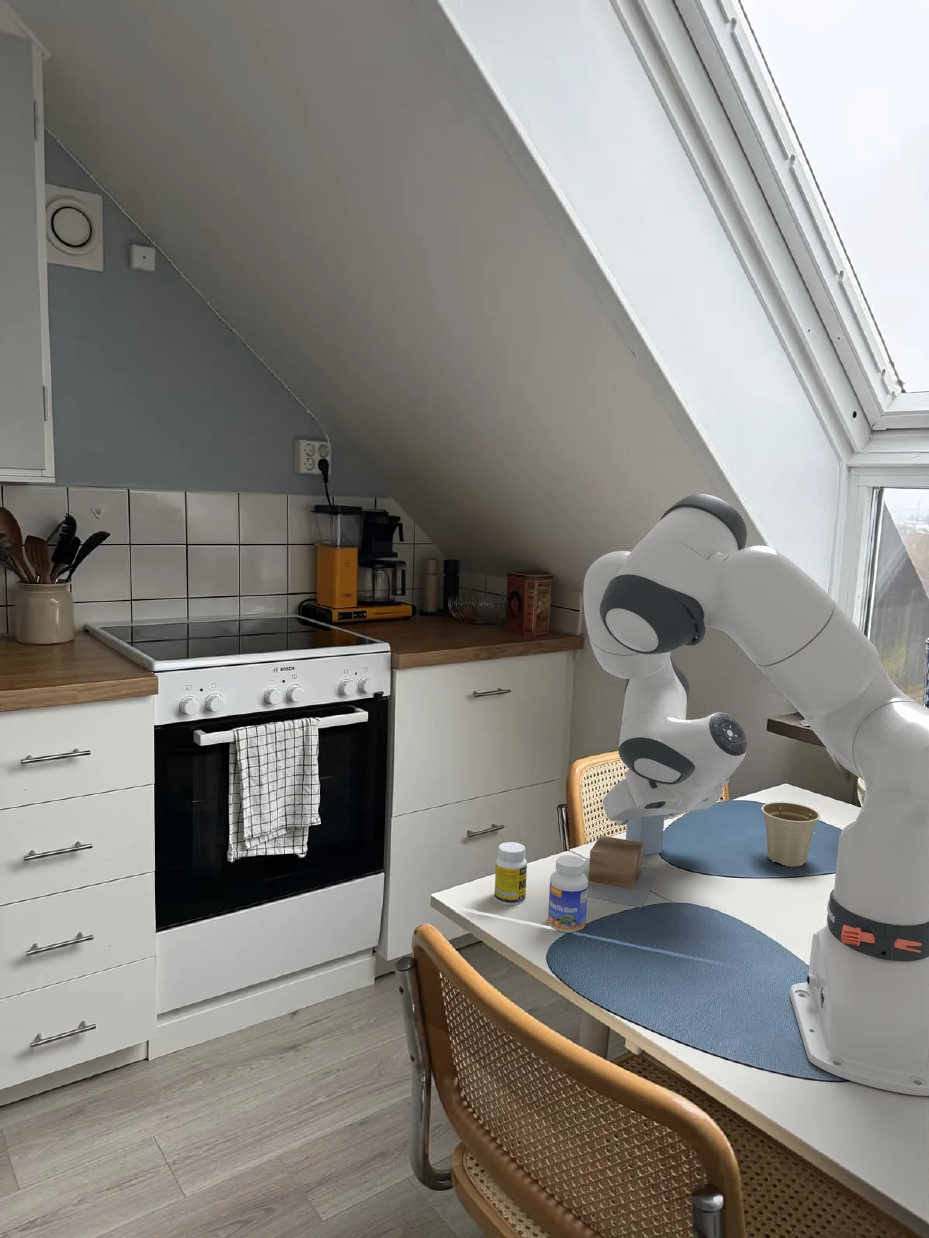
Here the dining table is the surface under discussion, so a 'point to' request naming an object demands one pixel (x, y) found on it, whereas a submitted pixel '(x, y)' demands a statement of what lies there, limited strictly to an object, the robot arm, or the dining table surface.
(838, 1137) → the dining table surface
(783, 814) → the flower pot
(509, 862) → the supplement bottle
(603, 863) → the walnut block
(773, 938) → the dining table surface
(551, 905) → the pill bottle
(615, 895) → the mat
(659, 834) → the slate pillar
